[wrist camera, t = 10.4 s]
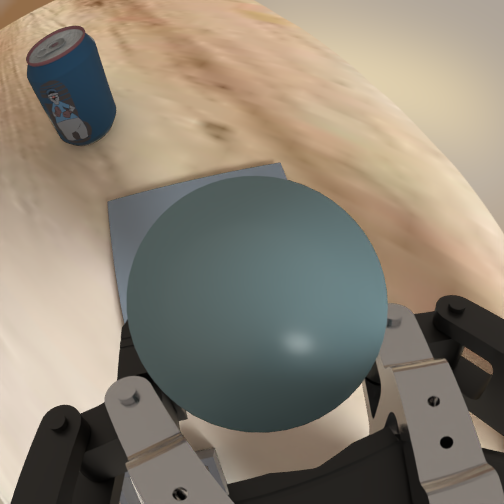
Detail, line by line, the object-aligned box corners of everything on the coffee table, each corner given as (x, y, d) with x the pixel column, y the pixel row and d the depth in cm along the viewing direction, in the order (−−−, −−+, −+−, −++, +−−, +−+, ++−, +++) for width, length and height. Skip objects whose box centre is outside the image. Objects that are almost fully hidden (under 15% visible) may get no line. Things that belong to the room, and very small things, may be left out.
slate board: (279, 167, 29) (280, 162, 29) (338, 335, 25) (341, 334, 24) (110, 205, 27) (107, 201, 26) (142, 388, 22) (139, 388, 21)
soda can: (107, 96, 31) (81, 15, 20) (128, 128, 30) (100, 37, 18) (56, 125, 30) (17, 50, 18) (71, 162, 28) (23, 80, 17)
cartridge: (270, 277, 16) (334, 159, 7) (300, 371, 15) (416, 374, 5) (174, 301, 15) (110, 206, 6) (201, 399, 14) (167, 460, 5)
